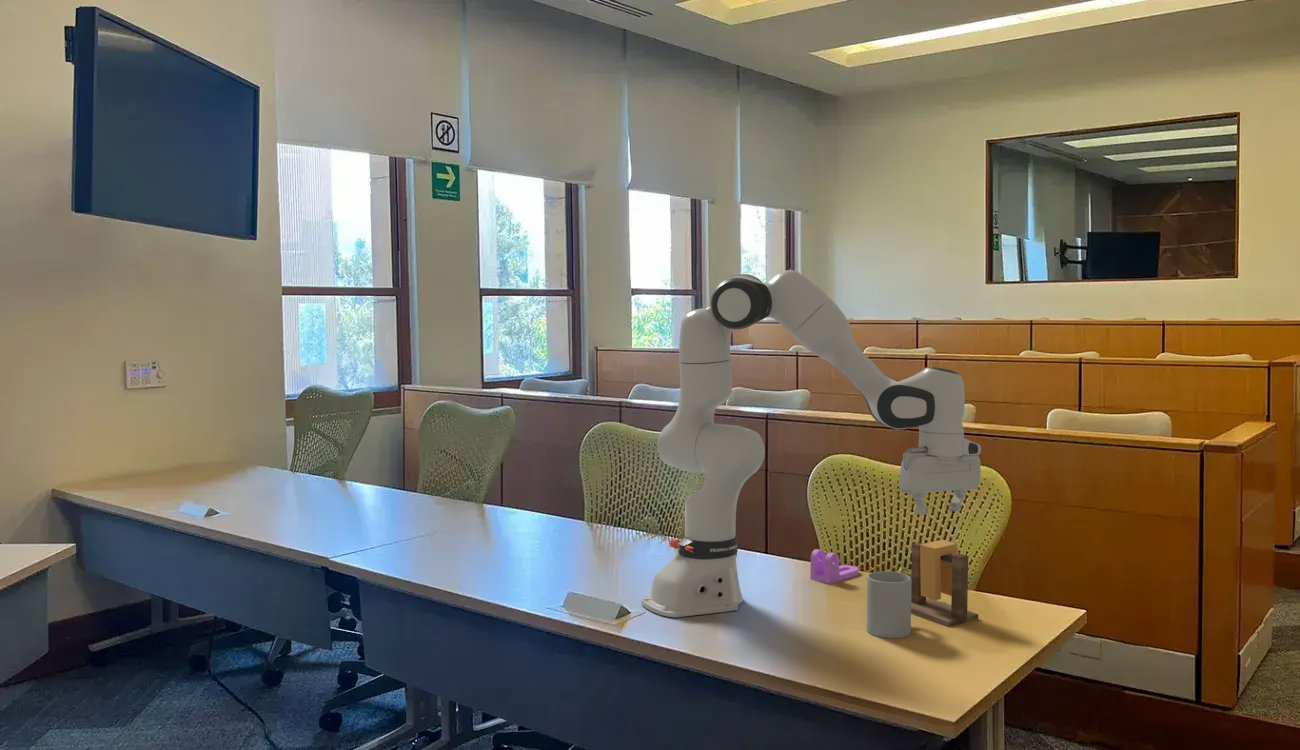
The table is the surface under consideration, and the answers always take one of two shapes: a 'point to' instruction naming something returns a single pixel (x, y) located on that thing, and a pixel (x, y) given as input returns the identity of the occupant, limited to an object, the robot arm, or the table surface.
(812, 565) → the bracket
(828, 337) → the robot arm
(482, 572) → the table surface
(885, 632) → the mug
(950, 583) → the tan arch block
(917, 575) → the stand with crossbar
